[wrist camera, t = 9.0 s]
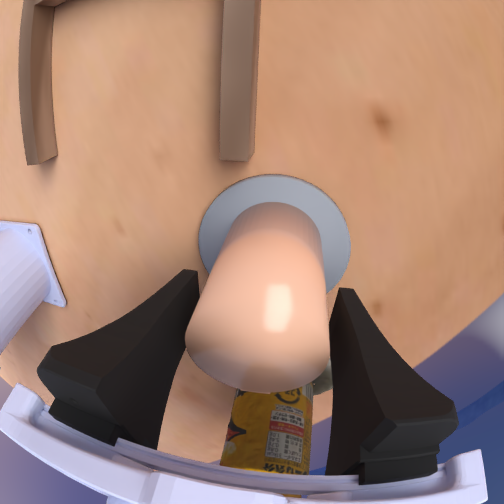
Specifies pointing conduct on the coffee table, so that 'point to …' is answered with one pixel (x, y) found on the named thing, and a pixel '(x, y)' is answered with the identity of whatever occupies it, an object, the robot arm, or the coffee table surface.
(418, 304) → the coffee table surface
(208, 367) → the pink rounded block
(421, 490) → the robot arm
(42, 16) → the holder
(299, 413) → the condiment
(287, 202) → the coaster
